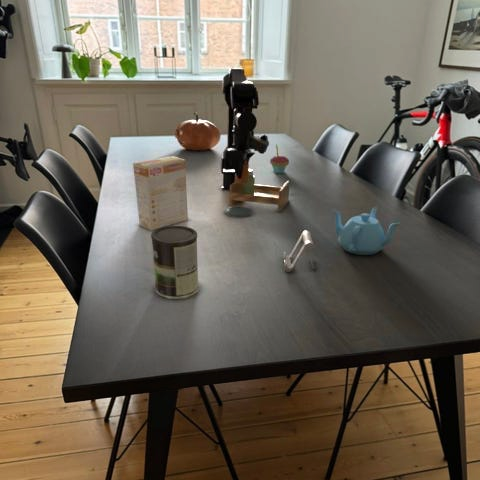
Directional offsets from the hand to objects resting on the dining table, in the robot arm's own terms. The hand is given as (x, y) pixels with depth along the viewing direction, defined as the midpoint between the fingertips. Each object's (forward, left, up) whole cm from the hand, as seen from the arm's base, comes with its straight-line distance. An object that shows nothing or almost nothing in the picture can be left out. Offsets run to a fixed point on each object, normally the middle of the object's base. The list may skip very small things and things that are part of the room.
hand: (241, 176), depth 153 cm
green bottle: (-1, +12, -9) cm, 15 cm away
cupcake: (-1, +61, -12) cm, 62 cm away
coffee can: (+2, -59, -12) cm, 61 cm away
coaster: (-1, -1, -12) cm, 12 cm away
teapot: (+42, -17, -12) cm, 48 cm away
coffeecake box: (-21, -18, -12) cm, 30 cm away
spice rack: (+3, +12, -12) cm, 18 cm away
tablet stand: (+27, -36, -12) cm, 47 cm away
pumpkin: (-54, +94, -12) cm, 109 cm away
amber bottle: (0, 0, -2) cm, 2 cm away
